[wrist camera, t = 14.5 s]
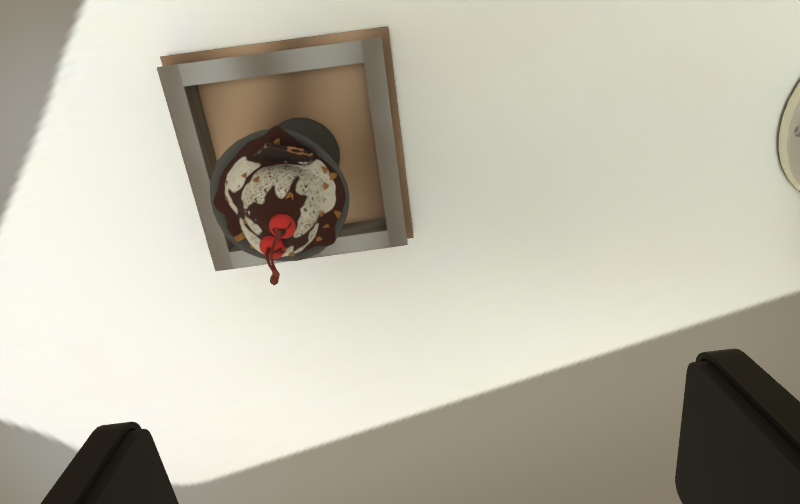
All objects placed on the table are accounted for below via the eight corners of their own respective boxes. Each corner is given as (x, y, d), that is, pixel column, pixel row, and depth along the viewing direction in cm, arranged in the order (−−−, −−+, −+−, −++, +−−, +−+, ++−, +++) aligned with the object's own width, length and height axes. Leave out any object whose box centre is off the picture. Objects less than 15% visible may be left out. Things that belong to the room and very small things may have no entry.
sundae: (305, 223, 36) (269, 338, 23) (230, 153, 34) (139, 232, 20) (374, 159, 35) (380, 239, 21) (300, 81, 33) (254, 115, 19)
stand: (387, 26, 33) (389, 25, 30) (411, 231, 38) (416, 251, 35) (166, 55, 33) (144, 58, 29) (223, 257, 38) (209, 279, 35)
